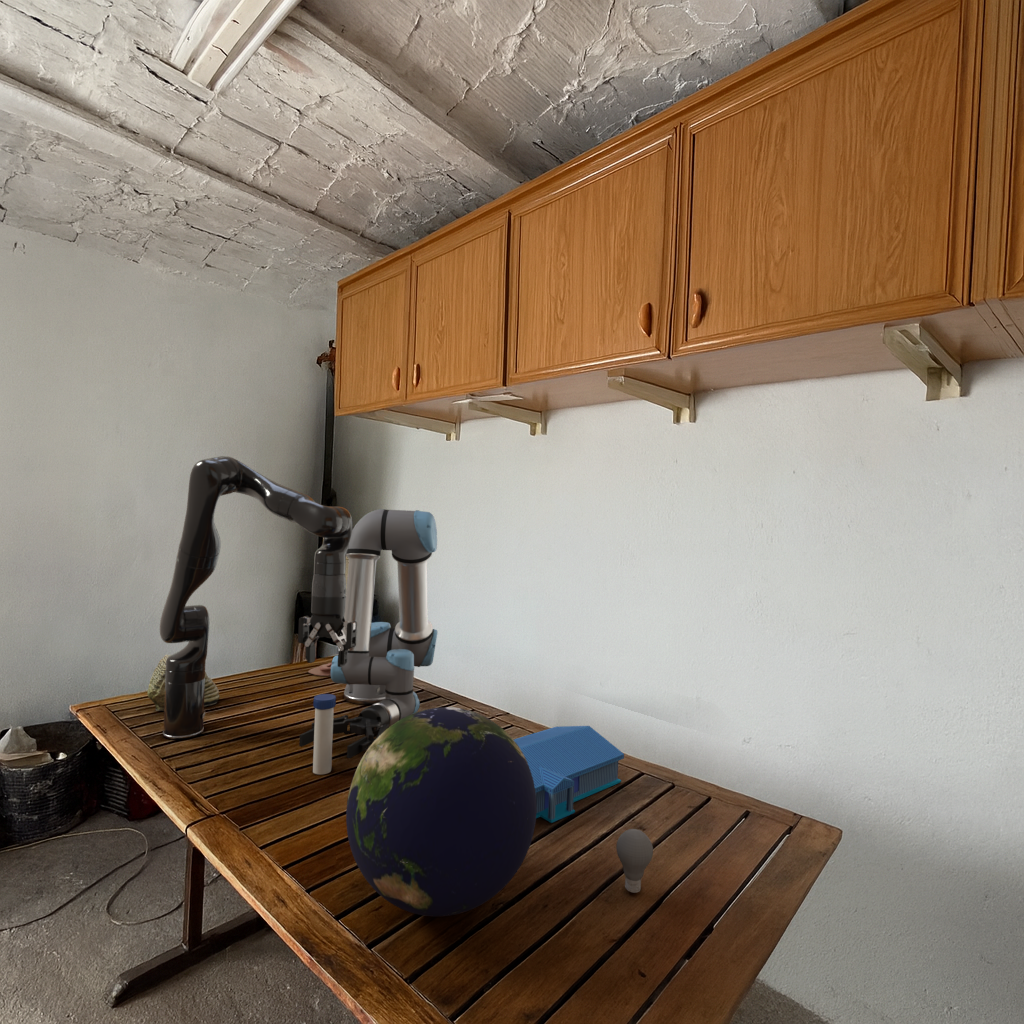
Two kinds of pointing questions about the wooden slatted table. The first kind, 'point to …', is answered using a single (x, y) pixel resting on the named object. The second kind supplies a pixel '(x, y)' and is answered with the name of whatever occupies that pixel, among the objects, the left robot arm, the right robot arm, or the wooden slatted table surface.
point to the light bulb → (634, 857)
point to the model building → (568, 767)
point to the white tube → (323, 741)
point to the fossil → (158, 687)
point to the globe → (441, 811)
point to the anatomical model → (322, 670)
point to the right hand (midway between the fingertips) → (324, 746)
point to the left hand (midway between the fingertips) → (326, 664)
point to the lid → (324, 701)
